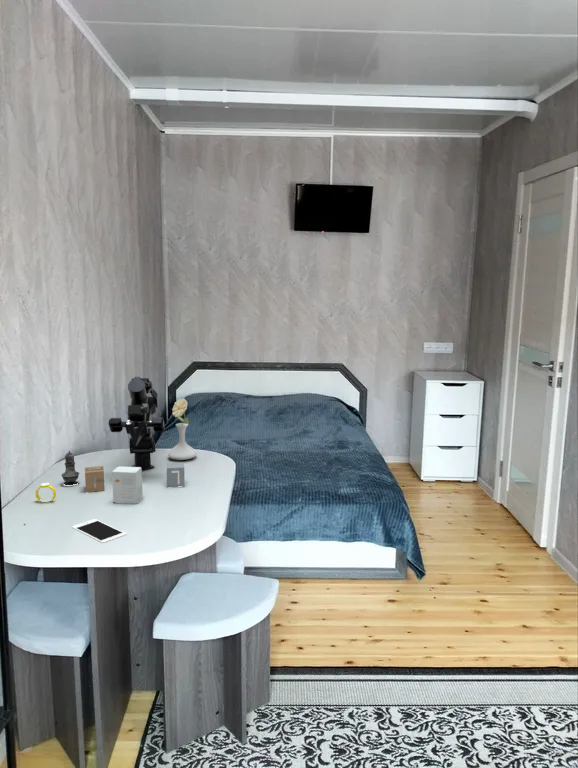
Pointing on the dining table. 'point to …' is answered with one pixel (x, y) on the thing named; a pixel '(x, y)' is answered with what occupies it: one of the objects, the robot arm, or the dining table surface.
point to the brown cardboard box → (94, 479)
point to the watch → (45, 487)
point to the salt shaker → (70, 470)
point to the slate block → (175, 474)
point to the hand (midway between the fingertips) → (134, 445)
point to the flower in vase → (181, 434)
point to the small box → (127, 484)
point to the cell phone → (99, 530)
